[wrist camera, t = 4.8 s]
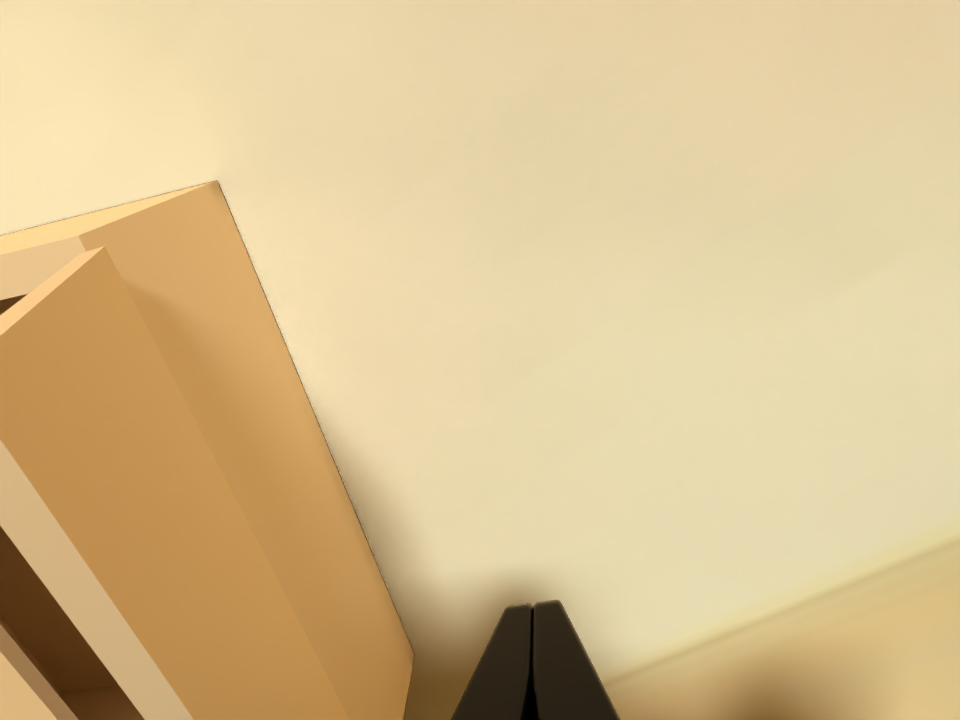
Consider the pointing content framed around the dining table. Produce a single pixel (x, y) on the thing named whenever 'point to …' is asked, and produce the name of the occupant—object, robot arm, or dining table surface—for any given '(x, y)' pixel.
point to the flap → (139, 514)
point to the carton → (235, 446)
